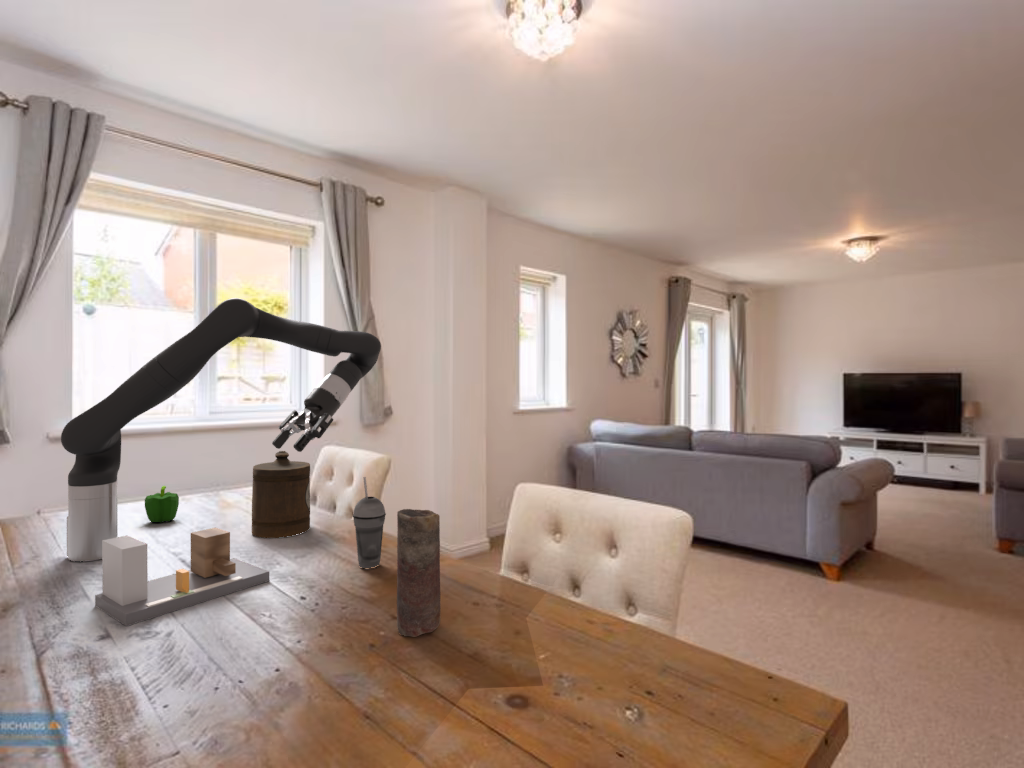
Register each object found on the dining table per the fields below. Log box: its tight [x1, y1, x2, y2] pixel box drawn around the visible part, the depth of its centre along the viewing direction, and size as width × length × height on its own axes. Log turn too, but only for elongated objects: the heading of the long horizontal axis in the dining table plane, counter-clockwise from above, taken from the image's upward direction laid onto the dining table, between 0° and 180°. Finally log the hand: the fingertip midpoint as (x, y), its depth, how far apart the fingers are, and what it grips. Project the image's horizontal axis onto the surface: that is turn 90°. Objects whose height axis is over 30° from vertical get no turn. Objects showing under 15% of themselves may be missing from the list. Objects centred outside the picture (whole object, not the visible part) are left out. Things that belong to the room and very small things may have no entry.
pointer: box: [175, 568, 189, 593], centre depth 104 cm, size 1×4×4 cm, turn 54°
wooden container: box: [251, 450, 311, 539], centre depth 153 cm, size 15×15×22 cm
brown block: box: [190, 527, 236, 578], centre depth 113 cm, size 5×11×8 cm, turn 55°
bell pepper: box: [144, 485, 180, 523], centre depth 162 cm, size 8×8×10 cm
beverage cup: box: [352, 476, 387, 568], centre depth 125 cm, size 7×7×20 cm
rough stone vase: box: [396, 508, 442, 638], centre depth 94 cm, size 8×7×20 cm
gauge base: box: [94, 535, 270, 627], centre depth 109 cm, size 26×14×12 cm, turn 144°
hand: (285, 448), depth 128 cm, fingers open, 8 cm apart
